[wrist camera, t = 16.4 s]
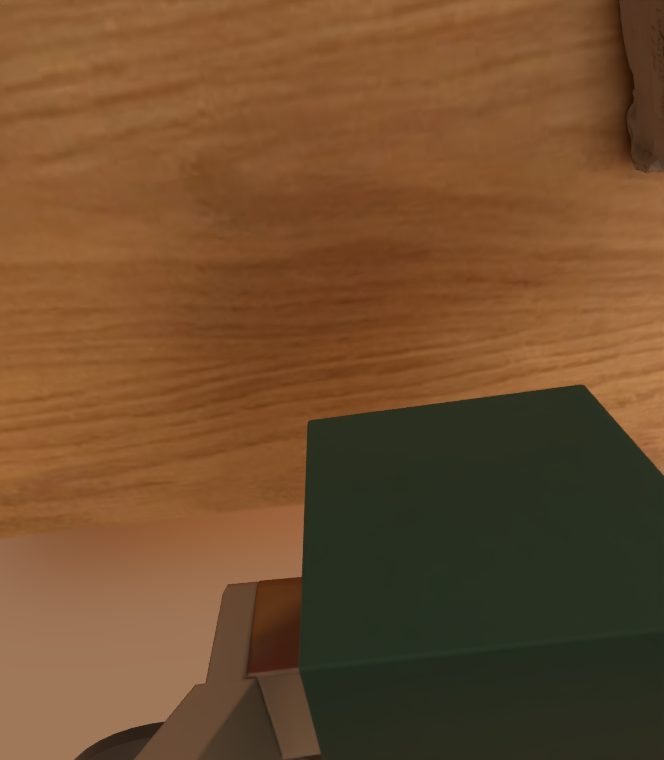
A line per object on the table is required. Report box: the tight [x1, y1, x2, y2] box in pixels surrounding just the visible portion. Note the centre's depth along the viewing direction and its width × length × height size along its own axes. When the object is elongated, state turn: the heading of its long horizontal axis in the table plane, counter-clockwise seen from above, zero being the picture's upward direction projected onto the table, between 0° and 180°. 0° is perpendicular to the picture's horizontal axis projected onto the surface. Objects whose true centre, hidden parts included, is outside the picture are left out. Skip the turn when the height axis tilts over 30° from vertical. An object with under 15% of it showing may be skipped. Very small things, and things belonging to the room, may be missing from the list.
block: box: [299, 385, 664, 760], centre depth 8 cm, size 4×4×4 cm
